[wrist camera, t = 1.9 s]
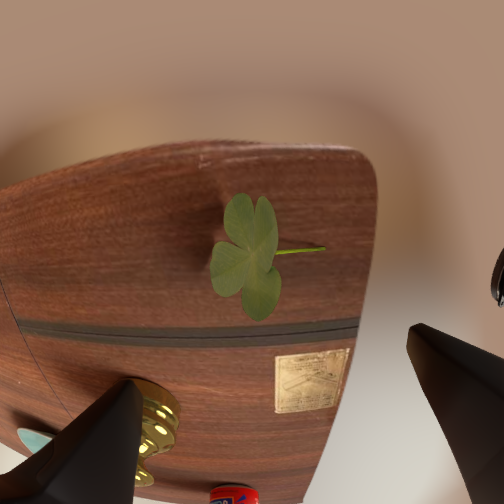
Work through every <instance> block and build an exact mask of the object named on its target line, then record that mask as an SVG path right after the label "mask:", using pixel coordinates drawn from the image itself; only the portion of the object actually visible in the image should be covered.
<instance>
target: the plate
mask: <svg viewBox="0 0 504 504" xmlns="http://www.w3.org/2000/svg"><path fill="white" fill-rule="evenodd" d="M17 433H18V435H19V437H20V439H21V440H22V442H23V443H24V444H25V445H26V447H27V448H28V449H29V450H30V451H31V452H33V453H34V454H35V453H36V452H37V451H39V450H40V449H41V448H42V447H44V446H45V445H46V444H47V443H48V442H49V441H50V440H52V439H53V438H54V437H55V436H56V435H53V434H50V433H47V432H41V431H37V430H32V429H28V428H18V430H17Z"/></svg>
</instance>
